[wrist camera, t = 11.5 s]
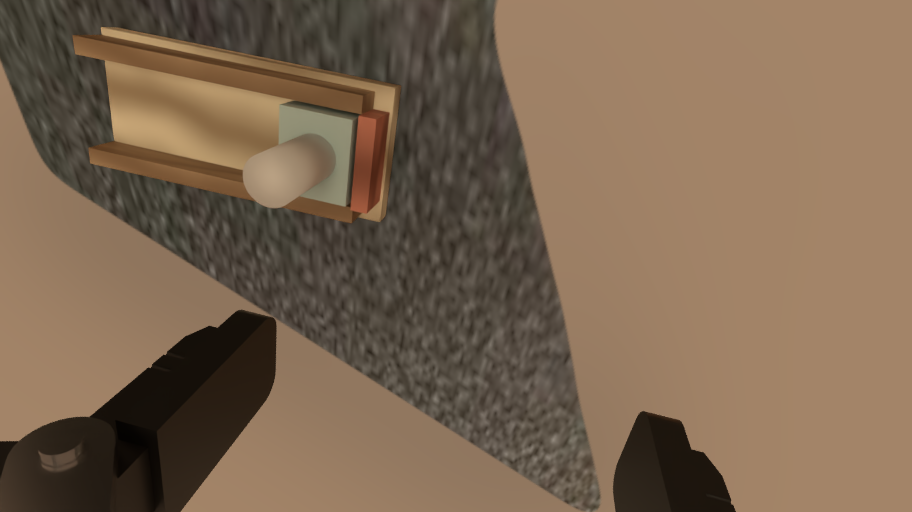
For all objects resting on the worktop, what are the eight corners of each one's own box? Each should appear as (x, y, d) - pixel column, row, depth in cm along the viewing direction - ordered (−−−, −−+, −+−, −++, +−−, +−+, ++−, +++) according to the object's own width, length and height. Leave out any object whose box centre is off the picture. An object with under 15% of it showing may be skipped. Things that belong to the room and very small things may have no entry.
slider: (299, 98, 36) (226, 119, 28) (367, 113, 36) (313, 138, 28) (296, 179, 39) (229, 220, 31) (360, 194, 38) (308, 238, 30)
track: (116, 27, 38) (65, 27, 34) (401, 85, 36) (382, 92, 32) (130, 157, 42) (86, 171, 38) (385, 215, 41) (367, 236, 36)
